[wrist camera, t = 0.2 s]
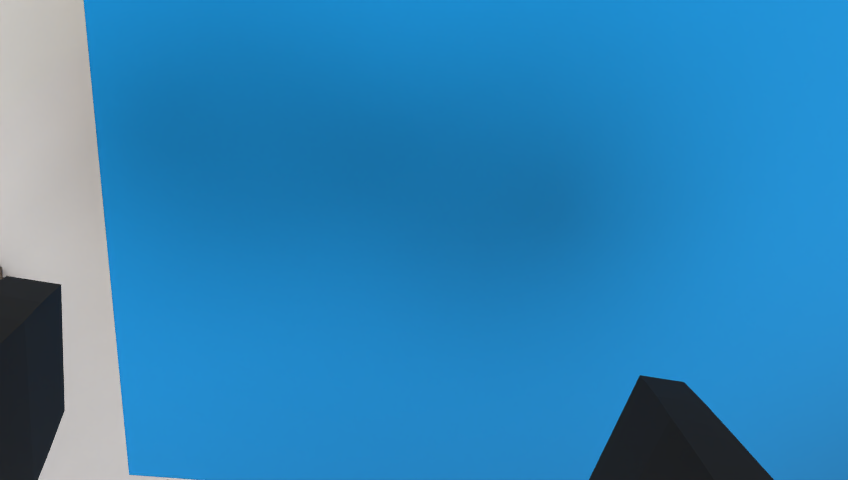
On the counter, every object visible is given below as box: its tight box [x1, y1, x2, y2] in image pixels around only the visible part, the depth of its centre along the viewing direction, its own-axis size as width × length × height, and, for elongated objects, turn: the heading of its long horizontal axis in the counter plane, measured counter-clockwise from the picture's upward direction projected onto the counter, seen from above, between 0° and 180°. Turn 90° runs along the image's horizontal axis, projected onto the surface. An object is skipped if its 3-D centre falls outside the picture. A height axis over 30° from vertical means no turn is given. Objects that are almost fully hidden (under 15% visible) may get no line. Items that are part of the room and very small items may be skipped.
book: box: [84, 0, 848, 480], centre depth 19 cm, size 17×4×25 cm
